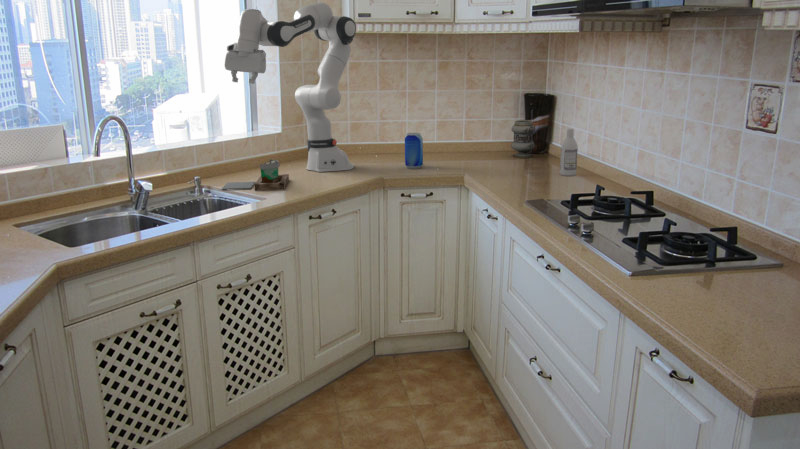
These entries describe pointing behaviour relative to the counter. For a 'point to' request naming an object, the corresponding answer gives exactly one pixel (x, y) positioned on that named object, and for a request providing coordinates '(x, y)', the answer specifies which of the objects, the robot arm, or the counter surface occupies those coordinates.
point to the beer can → (413, 150)
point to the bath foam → (568, 155)
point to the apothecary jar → (523, 138)
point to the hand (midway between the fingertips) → (243, 82)
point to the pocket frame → (272, 186)
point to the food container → (270, 171)
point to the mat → (238, 185)
